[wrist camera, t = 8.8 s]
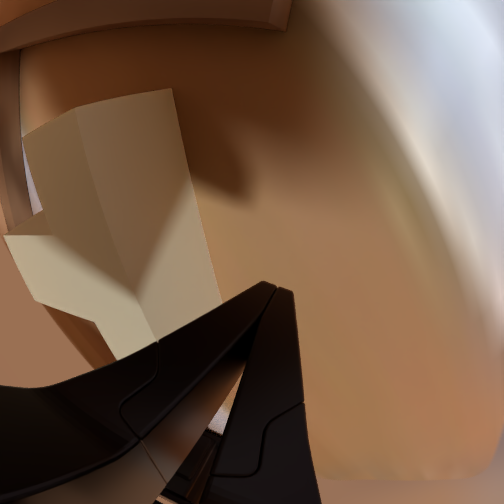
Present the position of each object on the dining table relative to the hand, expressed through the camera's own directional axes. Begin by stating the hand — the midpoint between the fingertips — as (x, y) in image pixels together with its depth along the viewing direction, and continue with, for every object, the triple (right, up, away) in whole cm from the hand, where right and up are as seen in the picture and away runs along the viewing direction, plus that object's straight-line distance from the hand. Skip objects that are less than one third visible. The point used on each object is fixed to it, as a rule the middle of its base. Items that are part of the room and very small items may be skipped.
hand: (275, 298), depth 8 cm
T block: (-6, +2, +5) cm, 8 cm away
